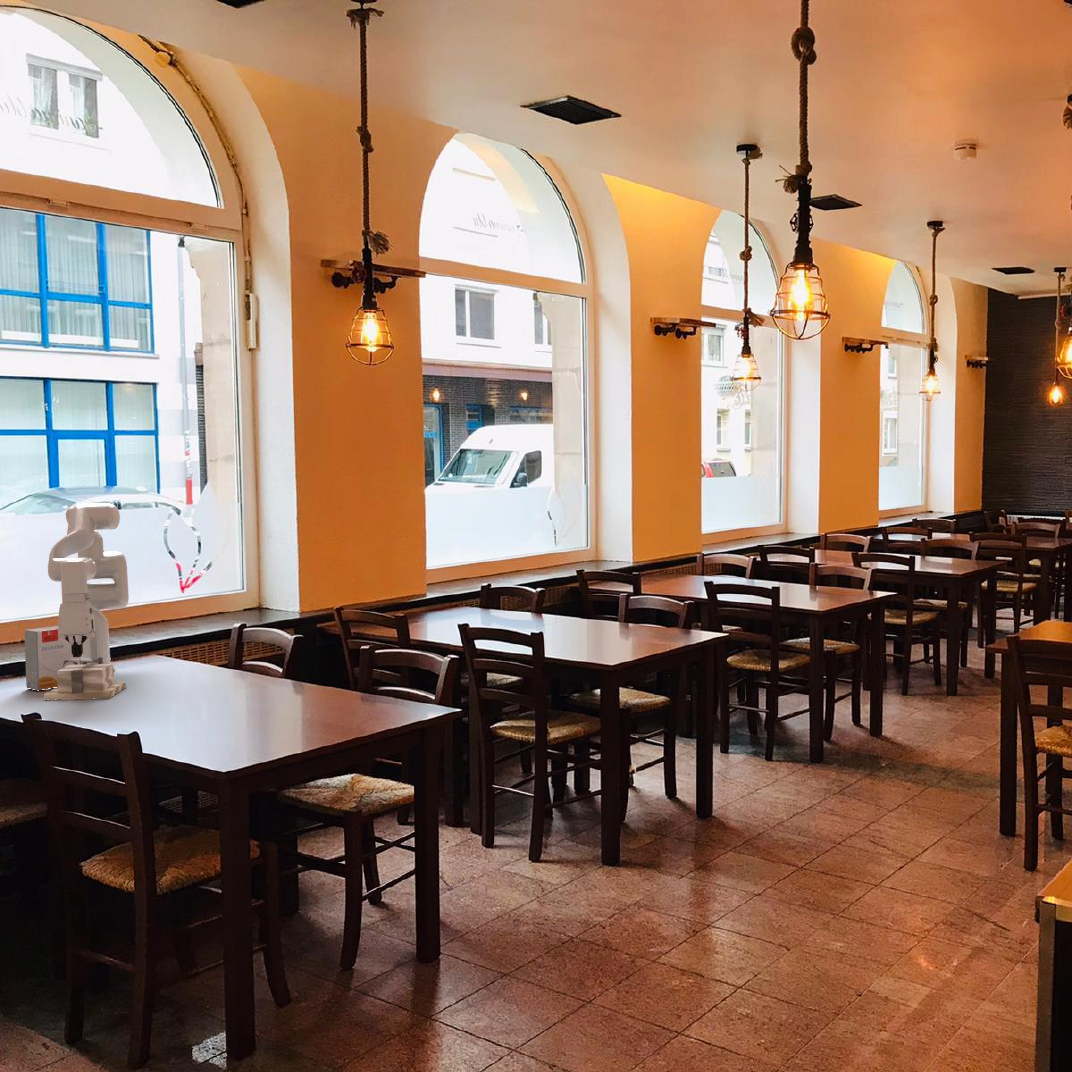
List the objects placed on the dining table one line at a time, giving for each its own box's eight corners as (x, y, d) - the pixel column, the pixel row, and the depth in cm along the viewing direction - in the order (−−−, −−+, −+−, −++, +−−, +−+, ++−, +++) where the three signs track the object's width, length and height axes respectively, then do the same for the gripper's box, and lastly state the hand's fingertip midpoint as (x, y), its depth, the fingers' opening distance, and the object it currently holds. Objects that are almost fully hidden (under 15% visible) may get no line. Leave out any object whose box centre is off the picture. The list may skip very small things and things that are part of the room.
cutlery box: (64, 689, 372) (62, 657, 371) (126, 687, 373) (124, 656, 372) (44, 700, 355) (42, 667, 354) (108, 698, 356) (107, 665, 355)
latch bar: (87, 662, 371) (87, 659, 371) (98, 662, 371) (98, 659, 371) (70, 660, 355) (70, 656, 355) (81, 660, 355) (81, 656, 356)
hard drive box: (38, 692, 368) (35, 631, 366) (25, 689, 372) (22, 629, 371) (82, 684, 380) (79, 625, 379) (69, 681, 385) (66, 623, 383)
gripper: (103, 597, 360) (105, 654, 361) (55, 598, 359) (57, 655, 360) (94, 599, 352) (97, 658, 353) (46, 600, 352) (48, 659, 353)
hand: (77, 656), depth 357 cm, fingers closed
